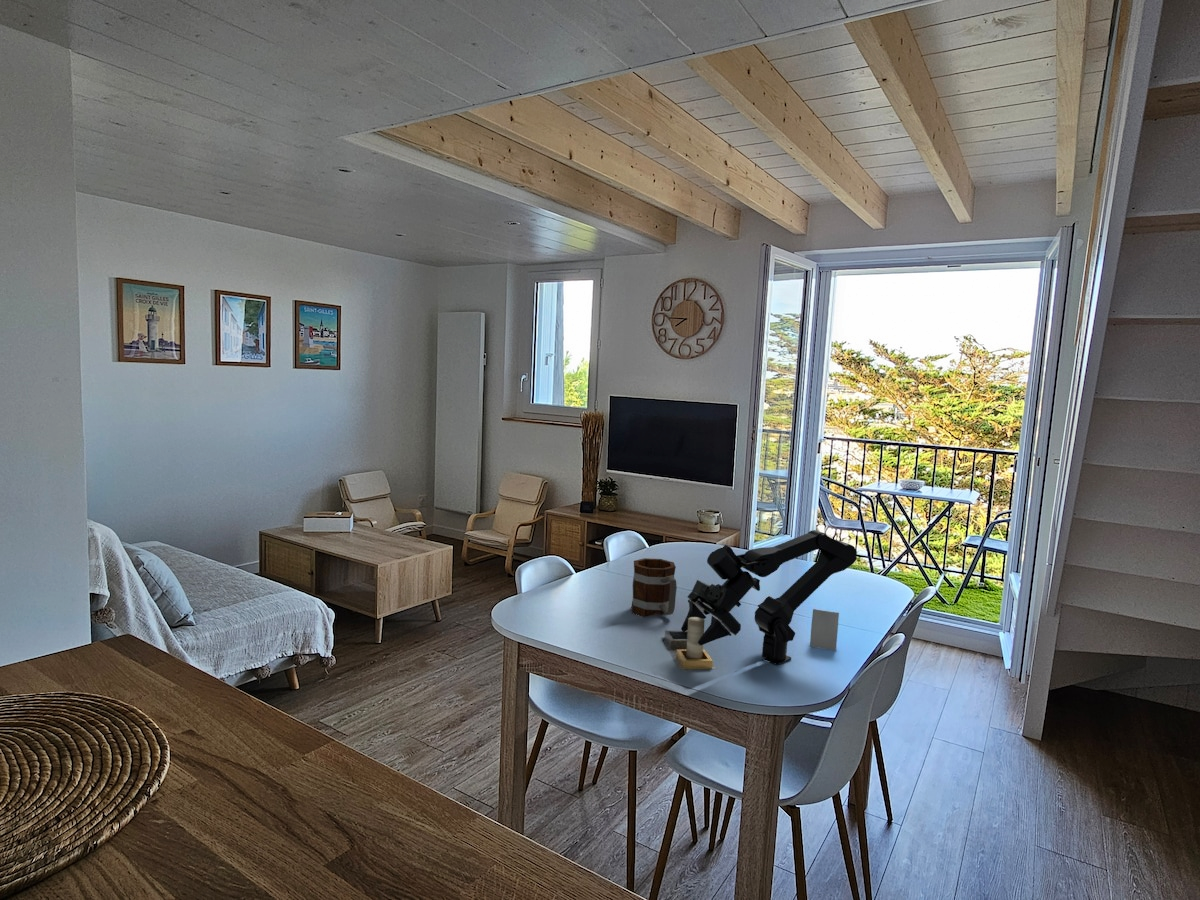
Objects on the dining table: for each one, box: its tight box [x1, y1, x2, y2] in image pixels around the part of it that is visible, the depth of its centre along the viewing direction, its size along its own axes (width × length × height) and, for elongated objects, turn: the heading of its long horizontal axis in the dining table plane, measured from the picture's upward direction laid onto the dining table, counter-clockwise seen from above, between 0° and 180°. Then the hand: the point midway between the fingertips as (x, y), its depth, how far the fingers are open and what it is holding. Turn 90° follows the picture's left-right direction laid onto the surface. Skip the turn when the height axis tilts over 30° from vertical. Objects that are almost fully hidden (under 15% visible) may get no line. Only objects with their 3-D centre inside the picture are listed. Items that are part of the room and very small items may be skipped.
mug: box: [630, 557, 677, 618], centre depth 211 cm, size 20×14×15 cm
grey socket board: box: [660, 630, 717, 671], centre depth 179 cm, size 21×9×3 cm, turn 8°
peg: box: [686, 617, 706, 660], centre depth 172 cm, size 4×4×11 cm
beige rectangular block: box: [809, 608, 840, 652], centre depth 191 cm, size 4×7×10 cm, turn 69°
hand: (690, 637), depth 172 cm, fingers open, 9 cm apart
